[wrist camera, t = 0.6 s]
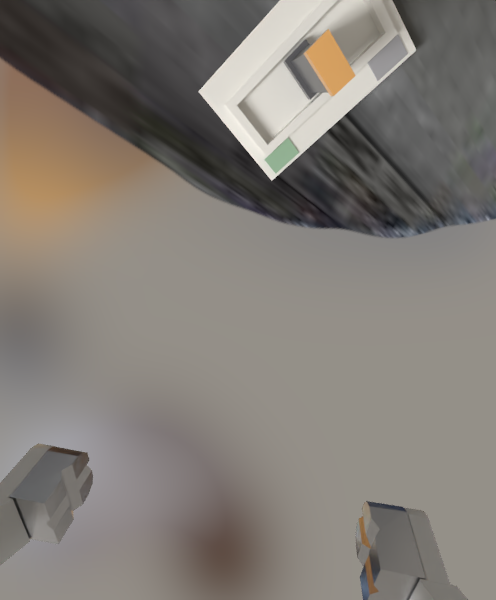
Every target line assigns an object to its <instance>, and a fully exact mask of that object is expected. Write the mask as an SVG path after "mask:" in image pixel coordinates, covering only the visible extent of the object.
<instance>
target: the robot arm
mask: <svg viewBox="0 0 496 600" xmlns="http://www.w3.org/2000/svg"><path fill="white" fill-rule="evenodd" d="M88 461H89V457H88V454H87V453H86V452H81V451H75V450H70V449H65V448H59V447H55V446H49V445H44V444H37V445H35V446H34V447H32V448H31V449H30V450H29V451H28V452H27V453H26V455H25V456H24V457H23V458H22V459H21V460H20V462H18V464H17V465H16V466H15V467H14V468H13V469H12V470H11V471H10V473H9V474H8V475H7V476H6V477H5V478H4V479H3V481H2V482H1V483H0V565H1V564H3V563H4V562H5V561H6V560H7V559H9V558H10V557H11V556H12V555H14V554H15V553H16V552H17V551H18V550H20V549H21V548H22V547H23V546H25V545H26V544H27V543H28V542H30V539H33V540H38V541H44V542H50V543H56V544H59V542H60V541H61V539H62V537H63V536H64V534H65V533H66V531H67V529H68V528H69V526H70V524H71V523H72V521H73V511H74V510H75V509H77V508H78V507H79V506H81V505H82V504H83V503H84V501H85V500H86V498H87V496H88V494H89V492H90V489H91V486H92V482H93V474H92V470H91V469H90V468H89V467H88V466H87V463H88ZM362 512H363V517H361V518H359V519H358V523H357V527H356V549H357V557H358V559H359V560H360V562H361V563H362V565H363V566H364V567H363V570H362V572H361V575H360V581H361V589H362V596H363V600H468V599H467V598H466V597H465V595H464V594H463V593H462V592H461V590H460V589H459V588H458V587H457V586H454V585H450V582H449V579H448V576H447V573H446V570H445V567H444V564H443V561H442V558H441V555H440V552H439V549H438V546H437V543H436V540H435V537H434V534H433V531H432V528H431V525H430V522H429V519H428V516H427V515H426V513H425V512H424V511H421V510H415V509H409V508H403V507H400V506H394V505H388V504H381V503H375V502H368V501H366V502H365V503H364V504H363V507H362Z"/></svg>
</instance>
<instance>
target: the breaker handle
mask: <svg viewBox="0 0 496 600" xmlns="http://www.w3.org/2000/svg"><path fill="white" fill-rule="evenodd" d="M283 63H284V64H285V66H286V67H287V69H288V70H289V72H290V73H291V74H292V76H293V77H294V79H295V80H296V82H297V83H298V85H299V86H300V88H301V89H302V91H303V92H304V94H305V95H306V97H307V98H308V99H310V100H311V99H312V98H313V97H314V96H315V95H316V94H317V93H329V95H330V96H334V95H336V94H337V93H338V92H339V91H340V90H341V89H342V88H343V87H344V86H345V85H346V84H347V83H348V82H349V81H350V80H352V79H353V78H354V77H355V76H356V75H355V73H354V72H353V70H352V68H351V67H350V65H349V63H348V61H347V60H346V58H345V56H344V55H343V53H342V51H341V49H340V48H339V46H338V44H337V43H336V41H335V39H334V37H333V36H332V34H331V32H330V31H329V29H328V30H326V31H325V32H324V33H323V34H322V35H321V36H320V37H319V38H318V39H317V40H316V41H314V42H312V43H311V44H309V43H308V41H307V40H306V39H305V40H304V41H303V42H302V43H301V44H300V45H299V46H298V47H297V48H296V49H295V50H294V51H293V52H292V53H291V54H290V55H289V56H288V57H287V58H286V60H285V61H284V62H283Z"/></svg>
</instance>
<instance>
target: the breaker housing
mask: <svg viewBox="0 0 496 600" xmlns="http://www.w3.org/2000/svg"><path fill="white" fill-rule="evenodd" d="M328 29H329V31H330V32H331V34H332V36H333V37H334V39H335V41H336V43H337V44H338V46H339V48H340V49H341V51H342V53H343V55H344V56H345V58H346V60H347V61H348V63H349V65H350V67H351V68H352V70H353V72H354V73H355V75H356V76H355V77H354V78H353V79H352V80H350V81H349V82H348V83H347V84H346V85H345V86H344V87H343V88H342V89H341V90H340V91H339V92H338V93H337V94H336V95H334V96H330V95H329V93H317V94H316V95H315V96H314V97H313V98H312V99H311V100H310V99H308V98H307V97H306V95H305V94H304V92H303V91H302V89H301V88H300V86H299V85H298V83H297V82H296V80H295V79H294V77H293V76H292V74H291V73H290V72H289V70H288V69H287V67H286V66H285V64H284V63H283V62H284V61H285V60H286V58H287V57H288V56H289V55H290V54H291V53H292V52H293V51H294V50H295V49H296V48H297V47H298V46H299V45H300V44H301V43H302V42H303V41H304V40H305V39H306V40H307V41H308V43H309V44H311V43H312V42H314V41H316V40H317V39H318V38H319V37H320V36H321V35H322V34H323V33H324V32H325V31H326V30H328ZM415 51H416V48H415V46H414V44H413V42H412V40H411V38H410V36H409V34H408V32H407V30H406V27H405V25H404V23H403V21H402V19H401V17H400V15H399V13H398V11H397V9H396V7H395V5H394V2H393V0H280V1H279V2H278V3H277V4H276V5H275V7H274V8H273V9H272V10H271V11H270V12H269V13H268V14H267V15H266V17H265V18H264V19H263V20H262V21H261V22H260V23H259V24H258V26H257V27H256V28H255V29H254V30H253V31H252V32H251V33H250V34H249V36H248V37H247V38H246V39H245V40H244V41H243V42H242V43H241V45H240V46H239V47H238V48H237V49H236V50H235V51H234V52H233V53H232V55H231V56H230V57H229V58H228V59H227V60H226V61H225V62H224V64H223V65H222V66H221V67H220V68H219V69H218V70H217V71H216V72H215V74H214V75H213V76H212V77H211V78H210V79H209V80H208V81H207V83H206V84H205V85H204V86H203V87H202V88H201V89H200V90H199V91H198V92H199V93H200V94H201V95H202V96H203V98H204V99H205V100H206V101H207V103H208V104H209V105H210V106H211V107H212V109H213V110H214V111H215V112H216V114H217V115H218V116H219V117H220V118H221V120H222V121H223V122H224V123H225V125H226V126H227V127H228V128H229V129H230V131H231V132H232V133H233V134H234V135H235V137H236V138H237V139H238V140H239V142H240V143H241V144H242V145H243V146H244V148H245V149H246V150H247V151H248V153H249V154H250V155H251V156H252V157H253V159H254V160H255V161H256V162H257V163H258V165H259V166H260V167H261V168H262V170H263V171H264V172H265V173H266V174H267V176H268V177H269V178H270V179H271V181H272V180H273V179H274V178H276V177H277V176H278V175H279V174H280V173H281V172H282V171H283V170H284V169H285V168H287V167H288V166H289V165H290V164H291V163H292V162H293V161H294V160H295V159H297V158H298V157H299V156H300V155H301V154H302V153H303V152H304V151H305V150H307V149H308V148H309V147H310V146H311V145H312V144H313V143H314V142H315V141H316V140H318V139H319V138H320V137H321V136H322V135H323V134H324V133H325V132H326V131H328V130H329V129H330V128H331V127H332V126H333V125H334V124H335V123H336V122H338V121H339V120H340V119H341V118H342V117H343V116H344V115H345V114H346V113H347V112H349V111H350V110H351V109H352V108H353V107H354V106H355V105H356V104H357V103H359V102H360V101H361V100H362V99H363V98H364V97H365V96H366V95H367V94H369V93H370V92H371V91H372V90H373V89H374V88H375V87H376V86H377V85H378V84H380V83H381V82H382V81H383V80H384V79H385V78H386V77H387V76H388V75H390V74H391V73H392V72H393V71H394V70H395V69H396V68H397V67H398V66H400V65H401V64H402V63H403V62H404V61H405V60H406V59H407V58H408V57H409V56H411V55H412V54H413V53H414V52H415Z"/></svg>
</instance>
